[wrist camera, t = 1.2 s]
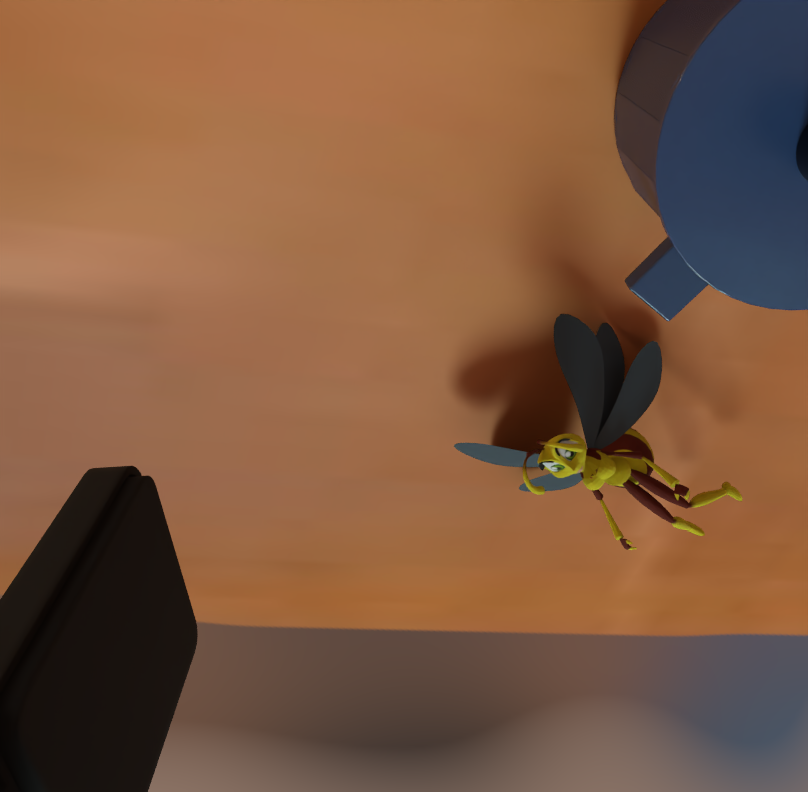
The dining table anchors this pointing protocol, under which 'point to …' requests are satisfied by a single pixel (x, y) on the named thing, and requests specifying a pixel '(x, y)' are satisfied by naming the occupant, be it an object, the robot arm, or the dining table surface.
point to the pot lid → (741, 155)
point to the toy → (603, 428)
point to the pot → (636, 131)
